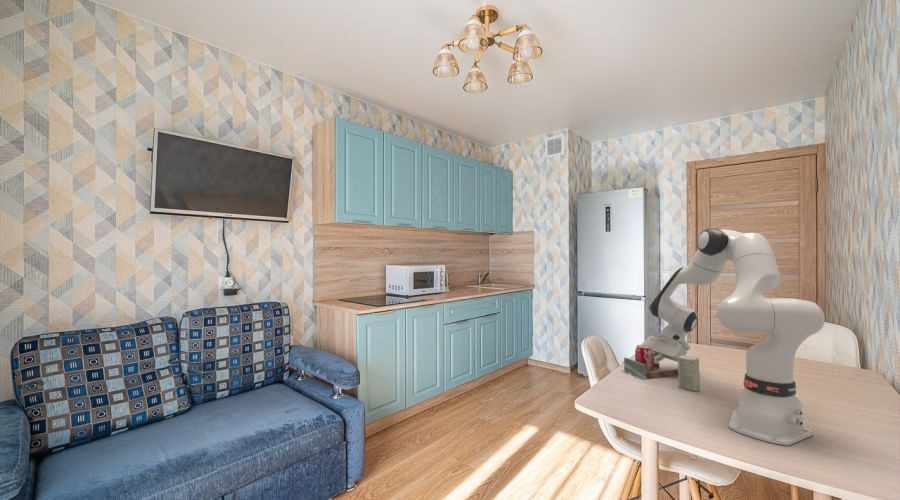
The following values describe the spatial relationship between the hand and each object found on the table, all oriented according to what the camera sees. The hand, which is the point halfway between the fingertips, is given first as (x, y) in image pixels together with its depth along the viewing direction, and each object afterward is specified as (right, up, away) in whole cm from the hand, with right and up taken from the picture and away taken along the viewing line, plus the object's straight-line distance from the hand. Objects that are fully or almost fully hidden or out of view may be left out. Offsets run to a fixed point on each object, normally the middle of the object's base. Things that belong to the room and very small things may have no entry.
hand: (652, 362), depth 163 cm
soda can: (-4, -5, 0) cm, 6 cm away
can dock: (-1, -5, 0) cm, 5 cm away
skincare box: (+4, -5, -19) cm, 20 cm away
